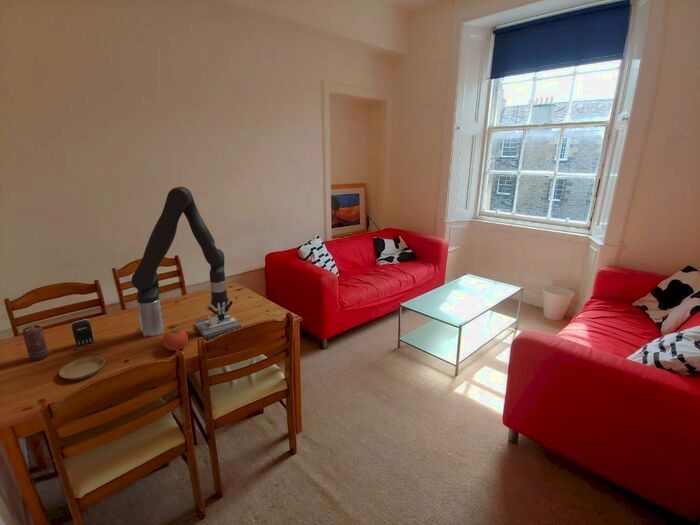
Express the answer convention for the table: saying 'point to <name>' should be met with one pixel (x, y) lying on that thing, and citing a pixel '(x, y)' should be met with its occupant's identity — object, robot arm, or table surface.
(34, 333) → the can
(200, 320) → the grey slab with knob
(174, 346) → the tomato
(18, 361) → the table surface
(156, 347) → the table surface
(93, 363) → the plant saucer
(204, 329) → the panel
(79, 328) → the battery charger
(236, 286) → the table surface
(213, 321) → the breaker lever
